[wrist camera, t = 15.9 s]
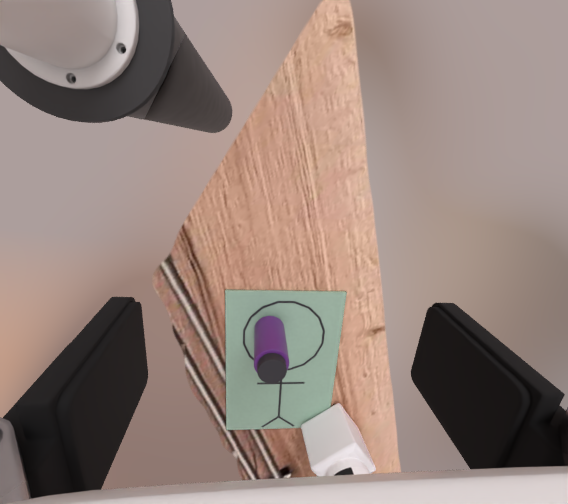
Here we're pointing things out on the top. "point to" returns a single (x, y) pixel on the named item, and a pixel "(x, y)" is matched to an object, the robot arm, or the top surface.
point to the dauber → (270, 349)
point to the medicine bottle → (336, 444)
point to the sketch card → (301, 350)
